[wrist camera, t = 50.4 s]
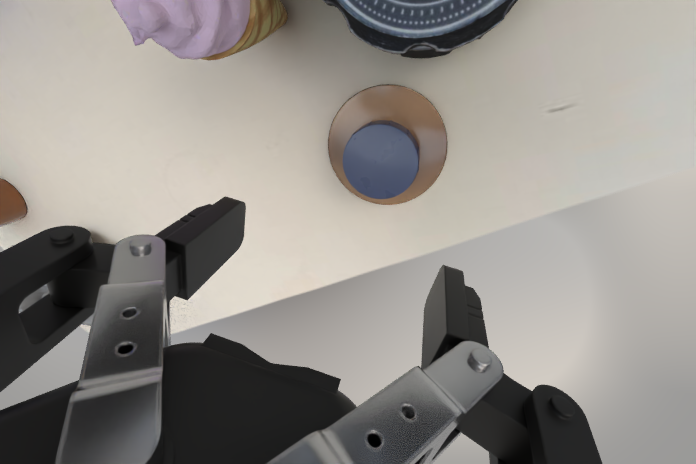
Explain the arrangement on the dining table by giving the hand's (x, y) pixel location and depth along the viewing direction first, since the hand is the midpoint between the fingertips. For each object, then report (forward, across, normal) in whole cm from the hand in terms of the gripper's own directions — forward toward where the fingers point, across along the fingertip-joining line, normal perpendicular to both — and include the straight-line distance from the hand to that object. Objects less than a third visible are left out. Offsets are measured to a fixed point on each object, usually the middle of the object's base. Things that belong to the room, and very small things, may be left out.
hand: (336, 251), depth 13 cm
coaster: (+18, 0, 0) cm, 18 cm away
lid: (+16, 0, +1) cm, 16 cm away
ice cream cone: (+18, +11, -7) cm, 23 cm away
